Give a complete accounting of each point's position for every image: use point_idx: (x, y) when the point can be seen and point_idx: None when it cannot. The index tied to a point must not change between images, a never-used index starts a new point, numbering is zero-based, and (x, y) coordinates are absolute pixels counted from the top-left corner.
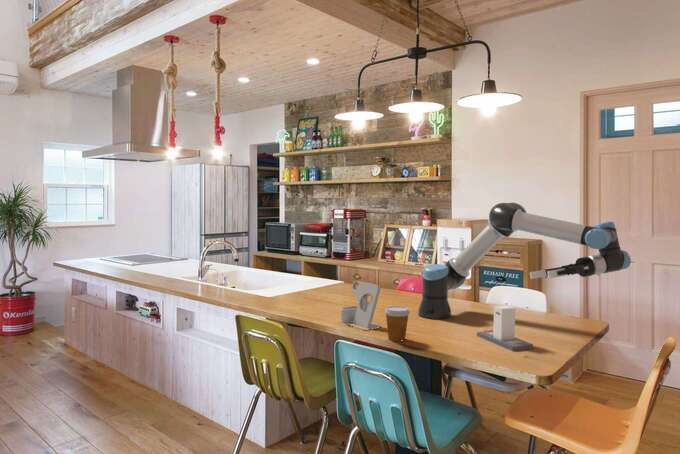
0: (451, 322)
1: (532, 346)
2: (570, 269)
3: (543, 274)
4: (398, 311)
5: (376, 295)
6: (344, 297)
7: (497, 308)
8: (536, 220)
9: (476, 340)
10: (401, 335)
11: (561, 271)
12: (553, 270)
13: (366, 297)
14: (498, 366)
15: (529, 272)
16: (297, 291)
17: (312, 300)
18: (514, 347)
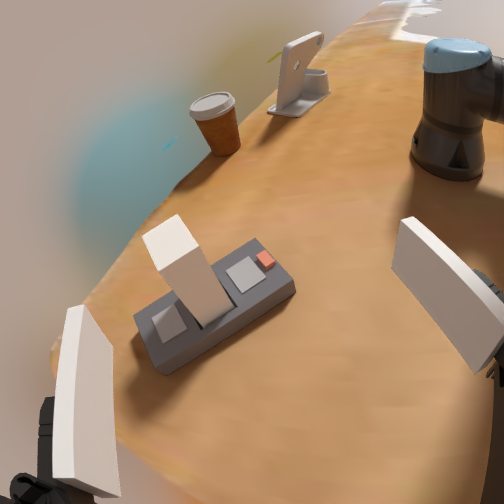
0: (408, 187)
1: (157, 369)
2: (8, 499)
3: (466, 337)
4: (190, 108)
5: (281, 63)
6: None
7: (162, 225)
8: None
9: None
10: (210, 146)
11: (42, 428)
12: (61, 354)
13: (301, 62)
14: (87, 296)
15: (411, 217)
16: None
17: (408, 55)
18: (136, 321)
